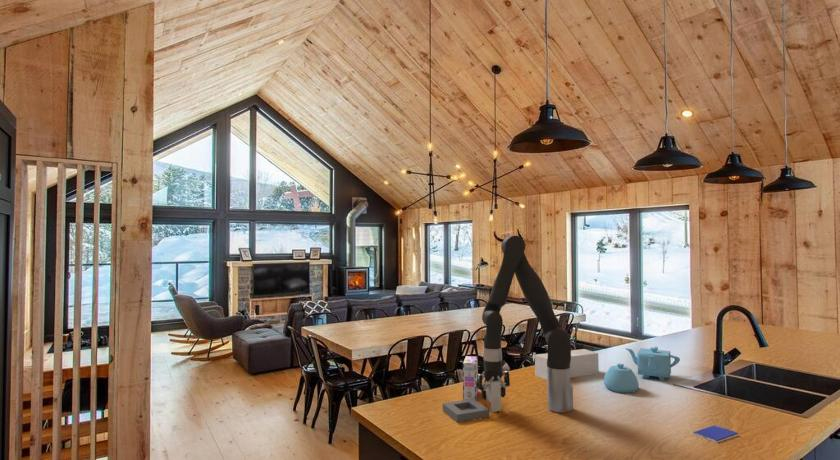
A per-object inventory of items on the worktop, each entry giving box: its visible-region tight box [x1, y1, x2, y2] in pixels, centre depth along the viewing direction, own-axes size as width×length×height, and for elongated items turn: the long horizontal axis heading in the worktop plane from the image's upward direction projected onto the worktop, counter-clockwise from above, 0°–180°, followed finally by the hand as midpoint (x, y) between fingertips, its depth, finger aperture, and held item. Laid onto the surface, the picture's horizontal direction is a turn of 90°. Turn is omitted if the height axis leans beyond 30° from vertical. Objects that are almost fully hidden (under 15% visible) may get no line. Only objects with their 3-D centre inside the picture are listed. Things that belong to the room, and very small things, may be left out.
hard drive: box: [692, 424, 739, 444], centre depth 161 cm, size 2×8×12 cm
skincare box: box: [486, 381, 502, 413], centre depth 190 cm, size 6×4×12 cm
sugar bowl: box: [603, 362, 639, 394], centre depth 214 cm, size 15×15×12 cm
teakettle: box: [624, 346, 681, 382], centre depth 233 cm, size 19×19×15 cm
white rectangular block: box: [534, 348, 600, 381], centre depth 240 cm, size 32×11×11 cm, turn 111°
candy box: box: [462, 355, 479, 401], centre depth 207 cm, size 14×6×16 cm, turn 168°
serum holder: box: [442, 399, 490, 423], centre depth 185 cm, size 14×14×3 cm
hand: (493, 398), depth 190 cm, fingers open, 8 cm apart
